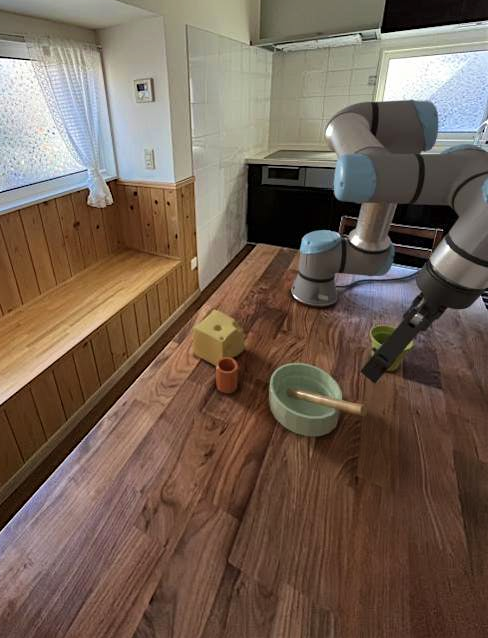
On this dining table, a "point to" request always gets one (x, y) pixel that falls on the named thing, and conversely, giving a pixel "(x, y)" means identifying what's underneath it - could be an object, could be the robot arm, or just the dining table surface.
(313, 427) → the bowl
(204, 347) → the cheese
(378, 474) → the dining table surface
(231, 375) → the utensil cup
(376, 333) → the plant pot
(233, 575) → the dining table surface
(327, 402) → the stick
